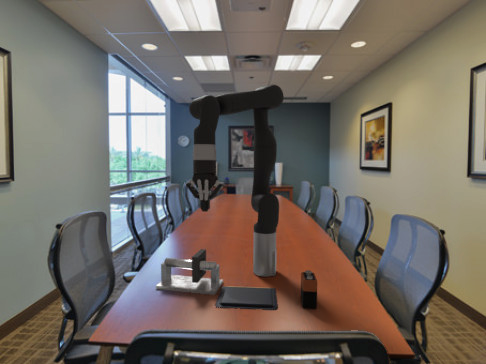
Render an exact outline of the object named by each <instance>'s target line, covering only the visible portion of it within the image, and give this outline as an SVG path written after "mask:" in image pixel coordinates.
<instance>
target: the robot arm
mask: <svg viewBox="0 0 486 364" xmlns="http://www.w3.org/2000/svg"><path fill="white" fill-rule="evenodd" d="M283 91H284V90H283V89H282V88H281V87H280V85H276V84H268V85H265V86H260V87H258V88H256V89H255V90H250V91H240V92H239V91H238V92H229V93H222V94H219V95H216V96H214V95H211V94H207V95H206V94H205V95H203V96H200V97H197V98H194V99H193V100H192V101H191V102H190V104H189V107H188V108H189V109H188V110H189V113H190V115H191V116H192V117H193V118H194V119H196V120H199V123H198V125H197V126H196V127H195V128H194V130H193V149H192V150H193V151H192V166H193V169H192V173H193V175H192V177H191V180H190V181H189V182H187V183H186V184H185V186H186V188H187V189H188V190H189V191H190V193H191V194H192V196H193V197H194V198H195V199H199V200H200V201H199V202H200V204H199V206H200V210H201V211H202V212H208V211H209V210H210V209H211V200H212V199H214V198H216V196H217V195H218V194H219V193H220V192H221V190H222V189H223V188H224V186H225V184H224V183H223V182H221V181H219V177H218V176H217V149H216V146H217V145H216V133H217V132H216V131H217V128H218V123H219V120H220V117H221V116H229V115H234V114H239V113H242V112H246V111H249V110H253V111H252V112H253V131H254V132H253V136H254V137H253V181H252V191H251V196H250V197H251V198H250V204H251V208H252V209H253V211H254V212H256V213H257V221H256V222H255V223H254V225H253V252H252V253H253V254H252V255H253V258H252V259H253V261H252V263H253V265H252V266H253V268H252V269H253V270H252V271H253V274H254V275H256V276H259V277H266V278H267V277H275V276H276V273H277V250H278V249H277V227H278V225H279V219H280V200H279V198H278V197H277V195H276V194H274V193H272V192H270V181H271V175H272V173H273V171H274V168H275V165H276V162H277V153H278V152H277V149H278V147H277V139H276V137H275V135H274V133H273V131H272V129H271V127H270V125H269V110H274V109H275V110H276V109H278V108H280V106H281V105H282V104H283V102H284V99H285V97H284V93H283ZM214 187H215V189H213V188H214ZM212 189H213V191H212Z"/></svg>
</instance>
